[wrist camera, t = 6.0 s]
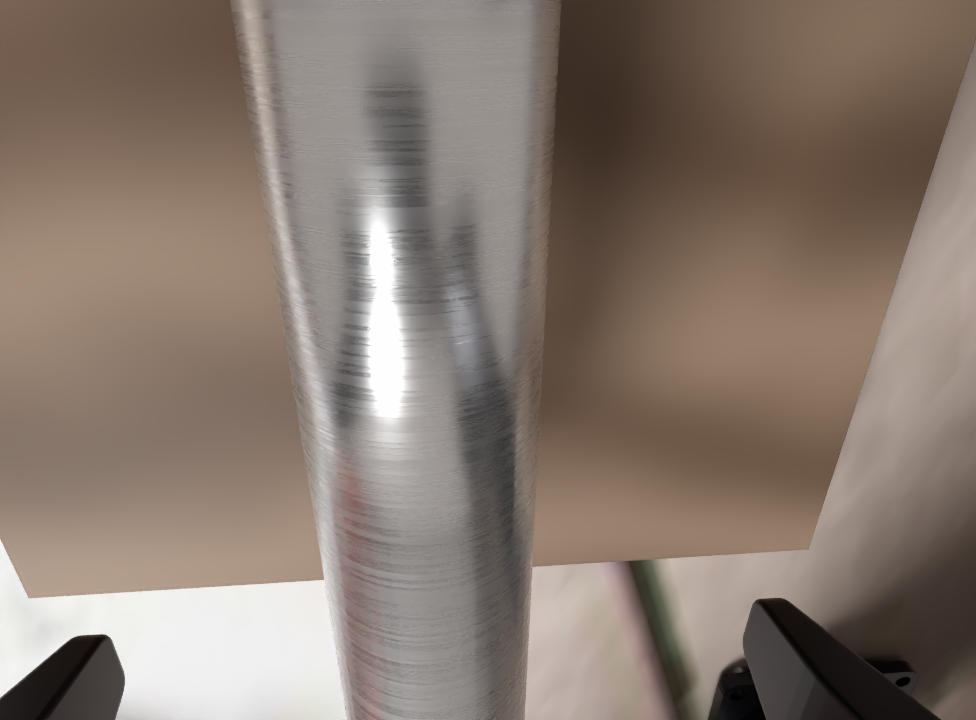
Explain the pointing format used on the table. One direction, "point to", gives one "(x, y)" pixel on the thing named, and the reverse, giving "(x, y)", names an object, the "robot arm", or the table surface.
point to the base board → (569, 294)
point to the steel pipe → (413, 323)
